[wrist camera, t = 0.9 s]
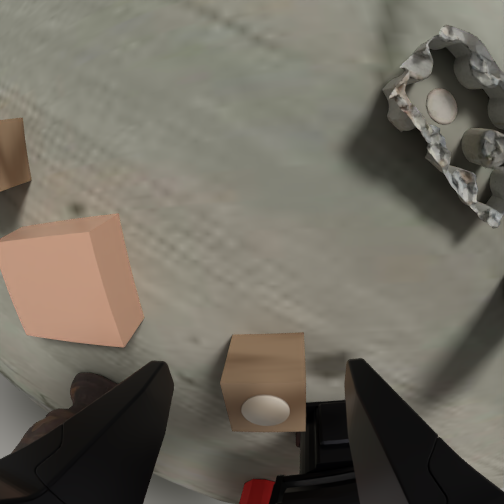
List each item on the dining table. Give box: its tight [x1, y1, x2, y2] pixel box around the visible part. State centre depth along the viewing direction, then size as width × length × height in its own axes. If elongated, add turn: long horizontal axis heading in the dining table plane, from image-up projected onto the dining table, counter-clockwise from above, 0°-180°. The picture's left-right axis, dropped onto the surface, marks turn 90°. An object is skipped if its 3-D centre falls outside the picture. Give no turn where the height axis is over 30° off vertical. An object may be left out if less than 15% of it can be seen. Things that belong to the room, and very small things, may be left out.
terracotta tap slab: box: [0, 213, 144, 347], centre depth 20 cm, size 8×10×4 cm
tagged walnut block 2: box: [220, 332, 306, 432], centre depth 21 cm, size 5×5×5 cm
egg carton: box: [382, 25, 504, 228], centre depth 14 cm, size 11×8×4 cm
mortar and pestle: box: [12, 373, 117, 453], centre depth 18 cm, size 12×9×20 cm
